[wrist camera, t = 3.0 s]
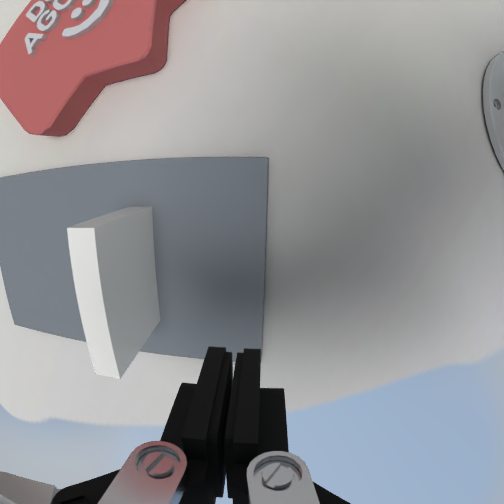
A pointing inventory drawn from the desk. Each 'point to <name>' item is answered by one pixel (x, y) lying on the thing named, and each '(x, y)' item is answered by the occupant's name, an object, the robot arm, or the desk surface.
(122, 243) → the tile
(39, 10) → the plaque
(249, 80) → the desk surface
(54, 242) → the tile mat
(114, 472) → the robot arm
